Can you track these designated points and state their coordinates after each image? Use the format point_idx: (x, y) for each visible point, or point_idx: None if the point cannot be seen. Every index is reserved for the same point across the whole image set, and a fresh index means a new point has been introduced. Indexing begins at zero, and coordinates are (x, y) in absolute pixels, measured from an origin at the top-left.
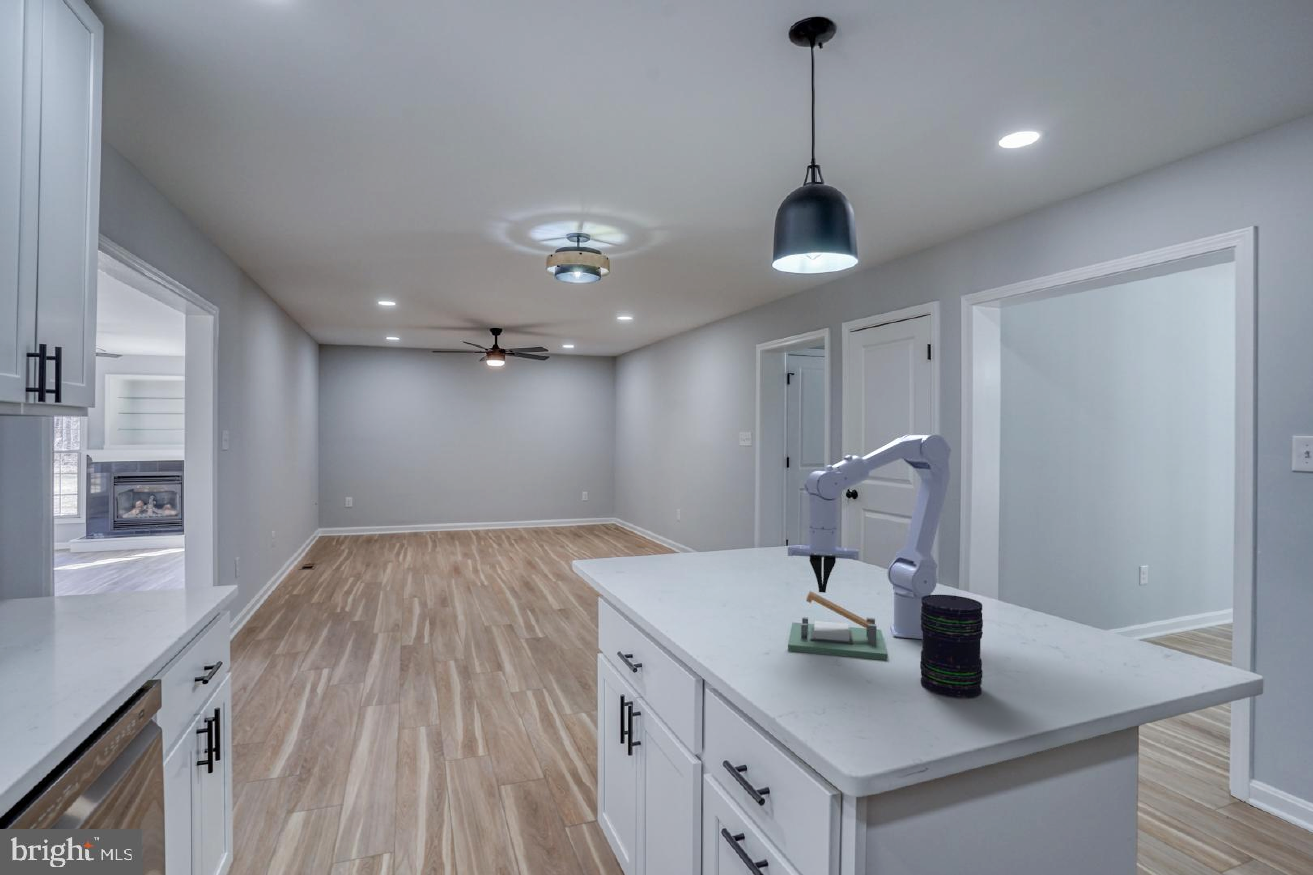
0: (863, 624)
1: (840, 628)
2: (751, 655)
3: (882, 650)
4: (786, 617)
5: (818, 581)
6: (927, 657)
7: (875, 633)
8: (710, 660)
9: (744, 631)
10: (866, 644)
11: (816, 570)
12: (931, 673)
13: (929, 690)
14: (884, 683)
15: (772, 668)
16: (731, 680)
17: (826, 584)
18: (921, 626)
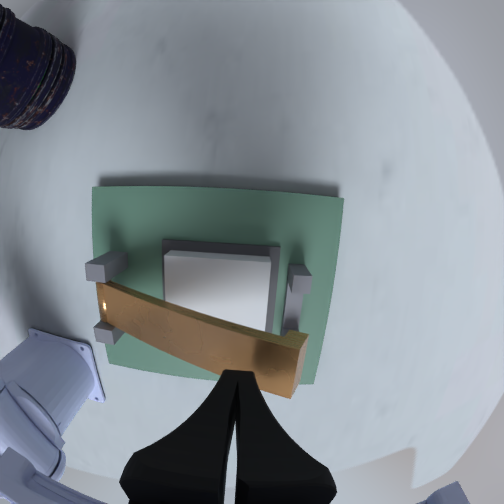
0: (118, 287)
1: (188, 300)
2: (415, 152)
3: (99, 209)
4: (314, 428)
5: (258, 399)
6: (42, 36)
7: (97, 258)
8: (470, 120)
9: (419, 320)
10: (131, 249)
11: (275, 440)
12: (55, 38)
13: (72, 51)
14: (133, 48)
15: (367, 75)
16: (420, 29)
17: (214, 389)
18: (5, 35)
